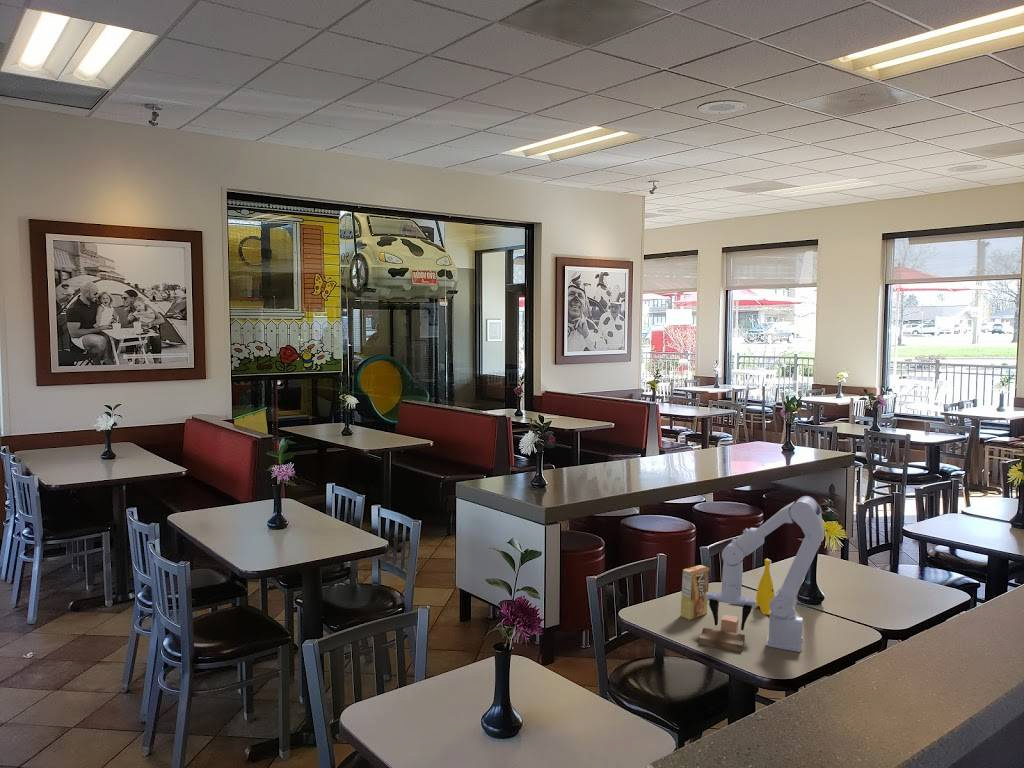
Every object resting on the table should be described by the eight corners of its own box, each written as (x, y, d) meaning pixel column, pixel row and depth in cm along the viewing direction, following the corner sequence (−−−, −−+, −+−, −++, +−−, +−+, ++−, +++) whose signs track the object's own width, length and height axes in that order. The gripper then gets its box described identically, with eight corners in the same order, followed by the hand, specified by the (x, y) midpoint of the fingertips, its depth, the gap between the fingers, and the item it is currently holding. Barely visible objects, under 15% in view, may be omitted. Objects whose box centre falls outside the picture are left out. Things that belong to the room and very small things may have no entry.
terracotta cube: (737, 631, 234) (738, 617, 234) (735, 636, 230) (736, 622, 230) (722, 628, 236) (723, 614, 236) (720, 634, 232) (721, 619, 231)
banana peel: (786, 602, 260) (789, 554, 258) (779, 622, 243) (783, 570, 241) (736, 594, 267) (739, 546, 265) (726, 612, 250) (729, 561, 248)
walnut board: (744, 641, 226) (745, 634, 226) (741, 652, 219) (742, 645, 219) (703, 634, 231) (703, 627, 231) (699, 644, 224) (699, 637, 223)
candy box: (696, 610, 250) (699, 564, 249) (707, 614, 247) (710, 567, 246) (679, 616, 245) (681, 569, 243) (690, 620, 241) (692, 572, 240)
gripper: (758, 582, 233) (755, 626, 234) (709, 575, 238) (706, 617, 239) (756, 590, 226) (753, 634, 227) (705, 582, 232) (703, 625, 233)
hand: (729, 626), depth 233 cm, fingers open, 7 cm apart
